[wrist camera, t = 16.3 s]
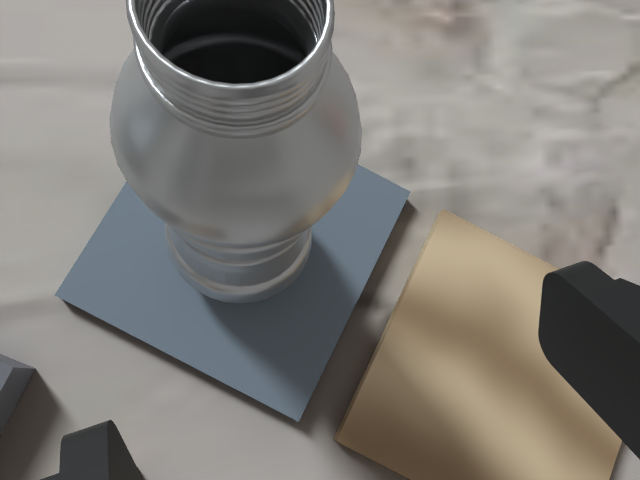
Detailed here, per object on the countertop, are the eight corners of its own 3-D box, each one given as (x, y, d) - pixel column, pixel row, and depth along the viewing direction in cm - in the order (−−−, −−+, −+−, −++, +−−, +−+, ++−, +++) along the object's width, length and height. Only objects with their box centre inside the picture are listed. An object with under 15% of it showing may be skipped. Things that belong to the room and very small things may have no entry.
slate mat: (296, 420, 29) (298, 422, 28) (60, 298, 29) (54, 295, 28) (405, 197, 33) (410, 191, 32) (193, 87, 33) (192, 78, 32)
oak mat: (568, 561, 29) (579, 567, 28) (333, 439, 29) (336, 441, 28) (649, 324, 33) (661, 322, 32) (438, 214, 33) (444, 209, 32)
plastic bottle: (203, 163, 31) (131, -208, 11) (326, 213, 31) (461, -67, 11) (149, 279, 29) (-45, 76, 10) (278, 331, 29) (345, 235, 10)
